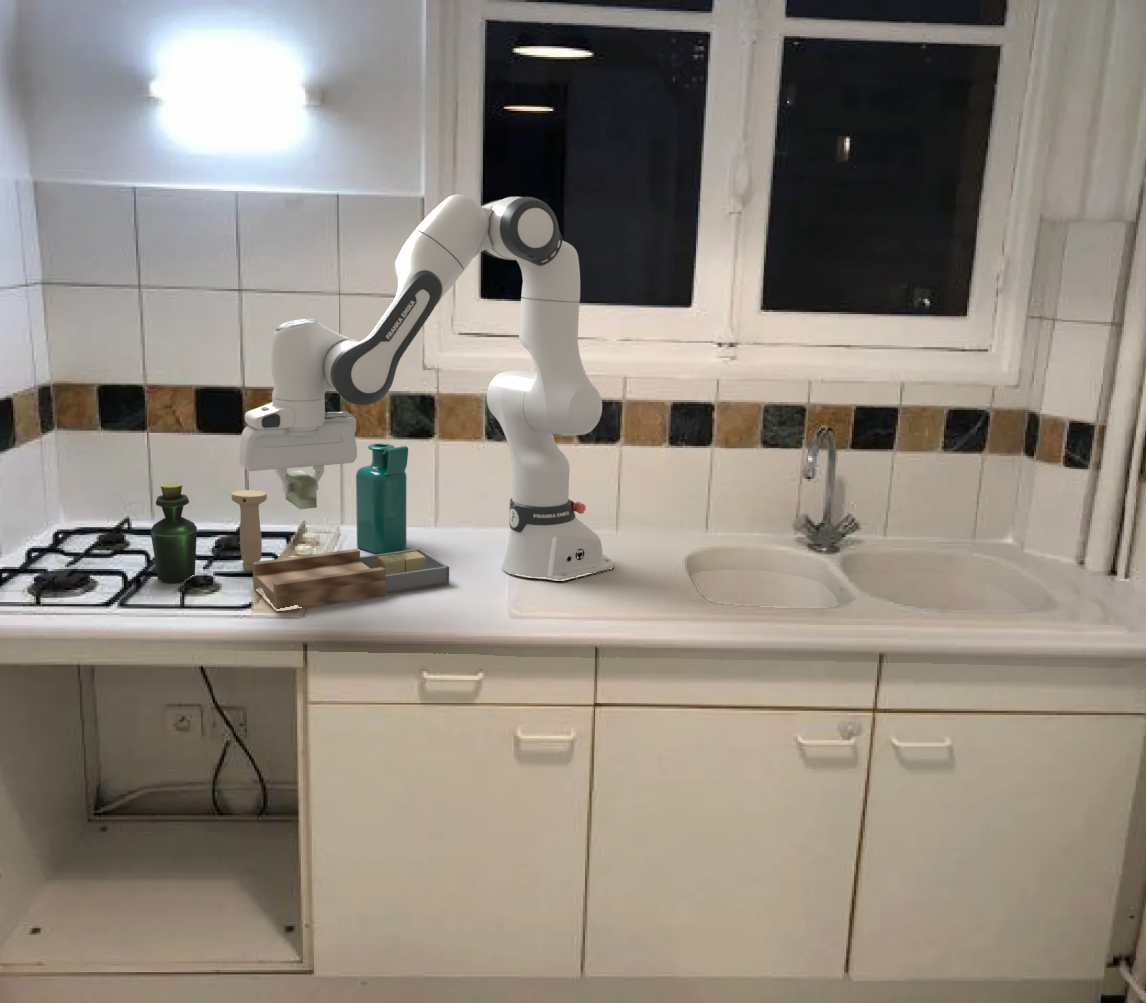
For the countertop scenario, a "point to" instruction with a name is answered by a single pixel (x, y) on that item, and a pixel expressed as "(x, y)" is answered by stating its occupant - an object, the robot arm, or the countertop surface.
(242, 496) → the handle
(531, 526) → the robot arm
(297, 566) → the slot board
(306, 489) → the bar
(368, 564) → the tray
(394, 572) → the brass block
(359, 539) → the pitcher
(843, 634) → the countertop surface
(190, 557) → the potion bottle
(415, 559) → the brass block
